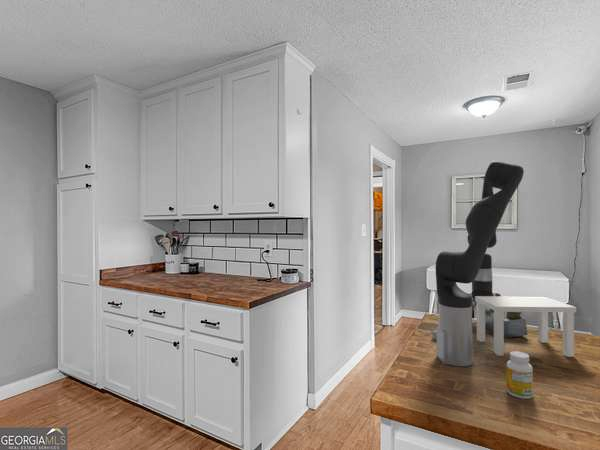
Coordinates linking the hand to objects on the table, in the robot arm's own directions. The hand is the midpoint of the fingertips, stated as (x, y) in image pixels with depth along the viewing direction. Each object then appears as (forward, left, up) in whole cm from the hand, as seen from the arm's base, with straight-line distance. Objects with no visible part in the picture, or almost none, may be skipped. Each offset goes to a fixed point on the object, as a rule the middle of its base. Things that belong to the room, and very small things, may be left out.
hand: (482, 318), depth 138 cm
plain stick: (-18, -15, -2) cm, 23 cm away
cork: (+5, -14, -2) cm, 15 cm away
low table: (0, -28, -2) cm, 28 cm away
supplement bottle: (-18, -58, -2) cm, 61 cm away
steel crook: (+3, -8, -1) cm, 9 cm away
